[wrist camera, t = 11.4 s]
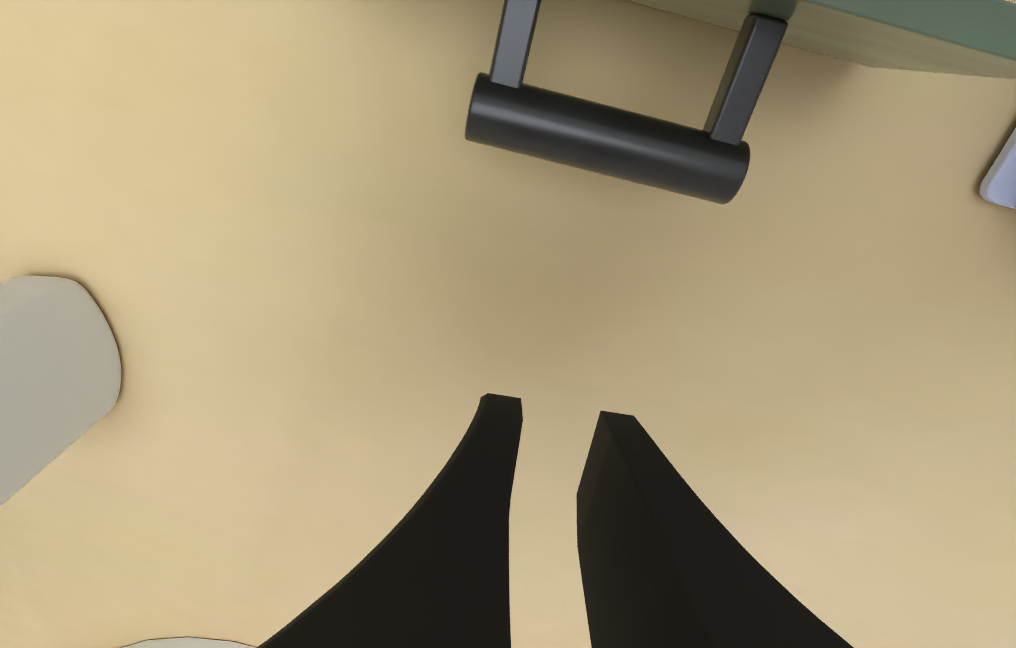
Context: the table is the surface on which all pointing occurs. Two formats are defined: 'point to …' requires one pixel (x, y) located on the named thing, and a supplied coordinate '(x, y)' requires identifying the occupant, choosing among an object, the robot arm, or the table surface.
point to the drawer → (726, 82)
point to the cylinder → (187, 643)
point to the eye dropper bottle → (50, 373)
